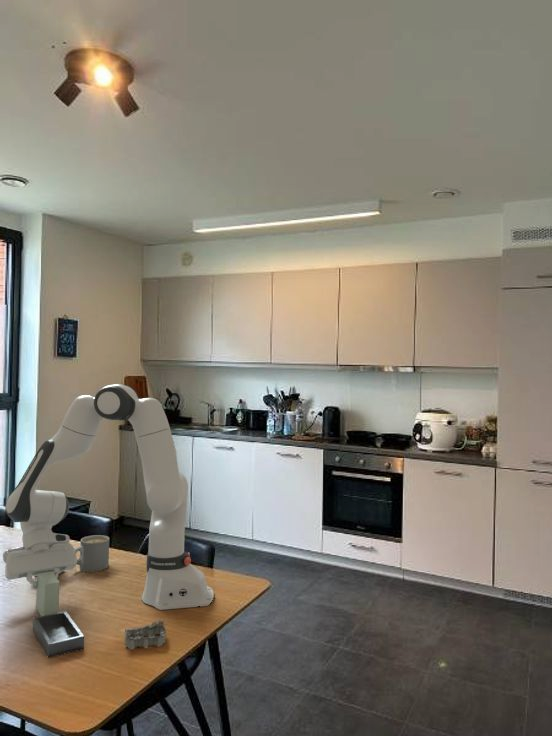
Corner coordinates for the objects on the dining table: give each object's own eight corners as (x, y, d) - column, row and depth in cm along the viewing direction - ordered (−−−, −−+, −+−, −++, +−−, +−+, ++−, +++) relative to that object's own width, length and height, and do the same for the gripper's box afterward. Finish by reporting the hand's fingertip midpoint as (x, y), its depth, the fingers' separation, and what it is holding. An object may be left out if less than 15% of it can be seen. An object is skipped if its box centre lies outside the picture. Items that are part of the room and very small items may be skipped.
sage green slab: (49, 604, 167) (51, 571, 168) (58, 616, 159) (59, 582, 159) (35, 607, 165) (37, 573, 165) (43, 620, 157) (44, 584, 157)
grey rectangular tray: (65, 622, 156) (65, 611, 156) (83, 649, 141) (84, 636, 141) (32, 630, 151) (33, 617, 151) (48, 658, 136) (48, 644, 136)
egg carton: (165, 635, 151) (165, 619, 151) (166, 648, 144) (166, 632, 144) (124, 637, 148) (125, 622, 149) (123, 651, 141) (124, 635, 141)
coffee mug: (104, 560, 208) (105, 533, 208) (111, 568, 199) (112, 541, 200) (67, 566, 201) (68, 538, 201) (72, 574, 192) (73, 545, 193)
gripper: (3, 544, 165) (8, 588, 157) (74, 534, 177) (81, 575, 169) (0, 555, 169) (5, 598, 161) (69, 545, 181) (77, 584, 173)
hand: (45, 586), depth 165 cm, fingers closed on sage green slab, 4 cm apart
